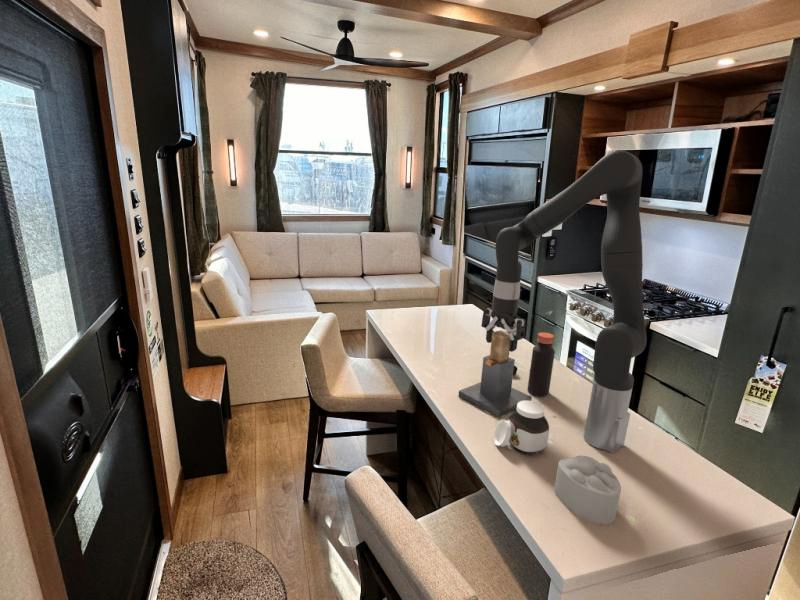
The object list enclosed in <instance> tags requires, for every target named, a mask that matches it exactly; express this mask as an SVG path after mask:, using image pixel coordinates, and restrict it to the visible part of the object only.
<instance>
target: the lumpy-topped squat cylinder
mask: <svg viewBox="0 0 800 600" xmlns="http://www.w3.org/2000/svg"><path fill="white" fill-rule="evenodd" d="M555 477H556V478H555V484H554V489H553V491H554V494H555V496H556V497H557V499H559V501H560V503H562V505H563V506H565V507H566V508H567V509H568V510H569V511H570V512H571V513H573V514H574V515H576V516H577V517H579V518H581V519H583V520H585V521H587V522H590V523H593V524H597V525H603V526H607V525H612V524H613V523H614V522H615V519H616V516H617V511H618V506H619V500H620V496H621V491H622V490H621V489H622V486H621V483H620V481H619V479H618V477H617V476H616V475H615V473H613V471H612V467H610V466H609V465H608V464H606V463H604V462H600V461H598V460H597V459H595V458H593V457H591V456H588V455H587V456H586V455H577V456H574V457H571V458H563V459H560V460H559V461H558V466H557V470H556V476H555Z"/></svg>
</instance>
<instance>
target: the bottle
mask: <svg viewBox="0 0 800 600" xmlns="http://www.w3.org/2000/svg"><path fill="white" fill-rule="evenodd" d="M554 339H555V335H554V334H552V333H549V332H543V331H542V332H538V333H537V340H536V343H537V344H536V345H534V347H533V348H532V353H531V359H530V369H529V376H528V382H527V383H528V385H527V392H528V393H529V394H531V395H532V396H535V397H540V396H541V397H542V398H543V397H546V396H548V395H549V394H550V386H551V382H552V381H551V380H552V374H553V368H554V359H555V353H556V351H555V349H554V348H553V347H552V345H553V343H554Z"/></svg>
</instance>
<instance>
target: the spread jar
mask: <svg viewBox="0 0 800 600" xmlns="http://www.w3.org/2000/svg"><path fill="white" fill-rule="evenodd" d="M545 412H546V411H545V406H543V405H542V404H541V403H539V402H538V401H537V402H536V401H534V400H531V401H528V400H525V401H520V402H518V404H517V409H516V410H515V411H513V412H511V413H509V416H508V420H505V419H500V420H499V421H498V422H497V424H496V425H495V428H494V431H493V441H494V444H495V446H497V447H501V448H505V447H506V446H507V445H508V443H509V444H510V445H511V447H512V449H514V450H515V451H517V452H518V453H520V454H523V455H536V454H538V453H540V452H541V451H543V450H545V448H547V445H548V441H549V435H550V425H549V421H548V420H547V417H546V416H545Z"/></svg>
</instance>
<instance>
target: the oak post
mask: <svg viewBox="0 0 800 600" xmlns="http://www.w3.org/2000/svg"><path fill="white" fill-rule="evenodd" d="M510 340H511V338H510V336H509V334H508V333H507V332H506V330H505V331H504V330H503V329H501V330H496V331H494V332H493V333H492V341H491V344H490V352H489V355H490V359H493V360H495V361H497V362H500V363H501V362H504V361H507V360H508V359H509V356H510V351H509V345H510Z"/></svg>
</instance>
